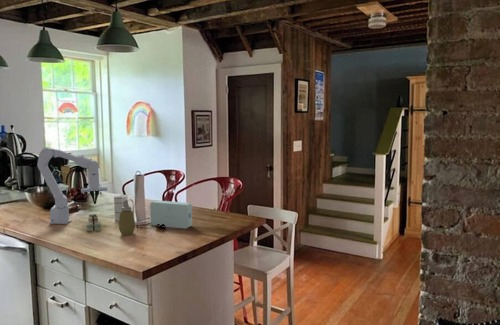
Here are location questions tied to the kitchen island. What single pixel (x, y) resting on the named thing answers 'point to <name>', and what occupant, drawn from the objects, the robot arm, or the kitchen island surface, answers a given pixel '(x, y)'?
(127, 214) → the squeeze bottle
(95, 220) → the fixed tong arm
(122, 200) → the syrup box
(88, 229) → the bar
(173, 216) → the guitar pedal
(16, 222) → the kitchen island surface
